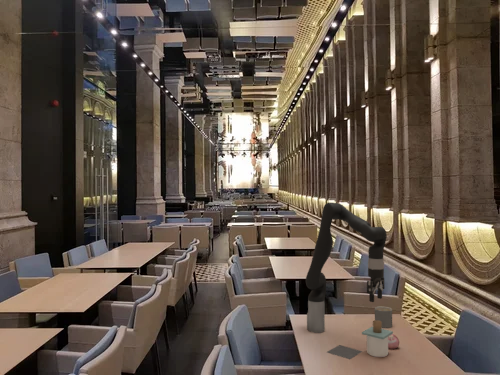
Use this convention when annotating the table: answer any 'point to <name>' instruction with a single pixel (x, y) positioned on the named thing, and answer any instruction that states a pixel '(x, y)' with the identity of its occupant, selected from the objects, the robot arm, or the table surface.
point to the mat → (344, 352)
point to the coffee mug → (384, 316)
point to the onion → (393, 342)
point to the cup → (377, 346)
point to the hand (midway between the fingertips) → (375, 300)
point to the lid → (377, 331)
